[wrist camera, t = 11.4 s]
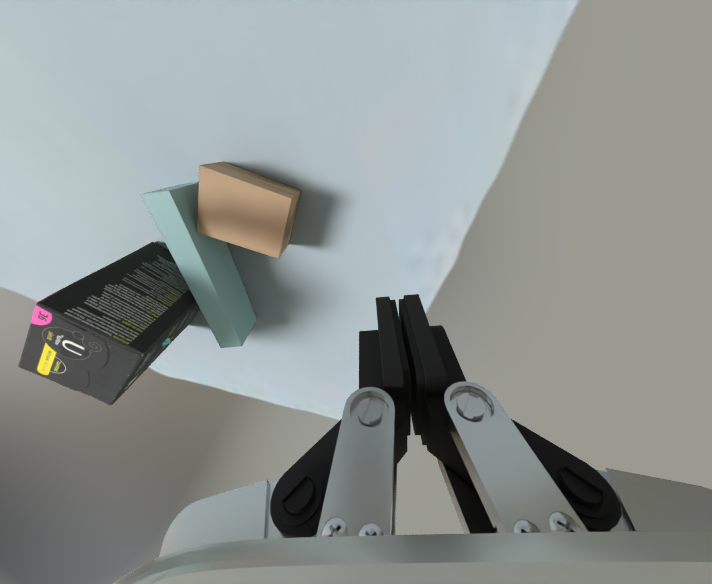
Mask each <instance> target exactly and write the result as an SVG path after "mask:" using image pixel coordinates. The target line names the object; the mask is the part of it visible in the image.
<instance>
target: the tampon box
mask: <svg viewBox="0 0 712 584" xmlns="http://www.w3.org/2000/svg"><path fill="white" fill-rule="evenodd" d="M198 310H199V306H198V304H197V302H196V300H195V298H194V296H193V294H192V292H191V291H190V289H189V287H188V285H187V283H186V281H185V279H184V277H183V275H182V273H181V272H180V270H179V268H178V266H177V264H176V262H175V260H174V258H173V256H172V254H171V253H170V252H168V251H166V250H165V249H163V248H162V247H160V246H159V245H157V244H156V243H154V242H151V243H149V244H148V245H146V246H144V247H142V248H140V249H139V250H137V251H135V252H133V253H131V254H129V255H127V256H125V257H123V258H121V259H120V260H118V261H116V262H114V263H112V264H110V265H108V266H106V267H104V268H102V269H100V270H98V271H96V272H94V273H92V274H90V275H88V276H86V277H84V278H82V279H80V280H78V281H76V282H74V283H73V284H71V285H69V286H67V287H65V288H63V289H61V290H59V291H57V292H55V293H53V294H51V295H50V296H48V297H46V298H44V299H43V300H41V301H39V302H37V303H36V306H35V310H34V314H33V317H32V321H31V325H30V328H29V331H28V335H27V338H26V342H25V345H24V349H23V352H22V355H21V359H20V362H19V365H18V366H19V367H20V368H22V369H25V370H27V371H30V372H32V373H35V374H37V375H40V376H42V377H45V378H47V379H50V380H52V381H54V382H57V383H59V384H61V385H63V386H65V387H68V388H70V389H73V390H75V391H79V392H81V393H84V394H86V395H88V396H91V397H93V398H95V399H98V400H100V401H102V402H104V403H106V404H108V405H112V404H113V403H114V402H115V401H116V400H117V399H118V398H119V397H120V396H121V395H122V394H123V393H124V392H125V391H126V390H127V389H128V388H129V387H130V386H131V385H132V384H133V383H134V381H135V380H136V379H137V378H138V377H139V376H140V375H141V374H142V373H143V372H144V371H145V370H146V369H147V368H148V367H149V366H150V365H151V363H152V362H153V361H154V360H155V359H156V358H157V357H158V356H159V355H160V354H161V353H162V352H163V351H164V350H165V349H166V348H167V347H168V346H169V344H170V343H171V342H172V341H173V340H174V339H175V338H176V337H177V336H178V335H179V334H180V333H181V332H182V331H183V330H184V329H185V328H186V327H187V326H188V325H189V323H190V322H191V320H192V319H193V317H194V316H195V314H196V313H197V311H198Z"/></svg>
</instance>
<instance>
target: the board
mask: <svg viewBox="0 0 712 584" xmlns="http://www.w3.org/2000/svg"><path fill="white" fill-rule="evenodd" d="M198 193H199V182H196V183H189V184H182V185H176V186H172V187H168V188H164V189H160V190H156V191H152V192H148V193H144V194H140V196H141V198H142V199H143V201H144V203H145V205H146V207H147V209H148V211H149V213H150V215H151V217H152V218H153V220H154V222H155V224H156V226H157V228H158V230H159V232H160V234H161V236H162V237H163V239H164V241H165V243H166V245H167V247H168V249H169V251H170V253H171V254H172V256H173V258H174V260H175V262H176V264H177V266H178V268H179V270H180V272H181V273H182V275H183V277H184V279H185V281H186V283H187V285H188V287H189V289H190V291H191V292H192V294H193V296H194V298H195V300H196V302H197V304H198V306H199V308H200V310H201V311H202V313H203V315H204V317H205V319H206V321H207V323H208V325H209V327H210V328H211V330H212V332H213V334H214V336H215V338H216V340H217V342H218V344H219V346H220V347H221V348H225V347H237V346H242V345H243V343H244V341H245V340H246V338H247V336H248V334H249V333H250V331H251V329H252V328H253V326H254V324H255V322H256V321H257V318H256V315H255V313H254V310H253V308H252V305H251V303H250V300H249V298H248V295H247V293H246V290H245V288H244V285H243V283H242V280H241V278H240V275H239V273H238V270H237V268H236V265H235V263H234V260H233V258H232V255H231V253H230V250H229V248H228V245H227V243H226V242H225V241H222V240H219V239H216V238H213V237H210V236H207V235H203V234H200V233H197V219H198Z"/></svg>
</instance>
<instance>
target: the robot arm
mask: <svg viewBox="0 0 712 584" xmlns="http://www.w3.org/2000/svg"><path fill="white" fill-rule="evenodd" d="M376 306H377V319H378V330H371V331H360V332H359V389H358V390H357V391H355V392H354V393H352V394H351V395H350V397H349V398H348V399H347V401H346V404H345V407H344V411H343V416H342V419H341V420H340V421H339V422H338V423H337V424H336V425H335V426H334V427H333V428H332V429H331V430H330V431H329V432H327V433H326V435H324V436H323V437H322V438H321V439H320V440H319V441H318V442H317V443H316V444H315V445H314V446H313V447H312V448H311V449H310V450H309V451H308V452H306V453H305V454H304V456H302V457H301V458H300V459H299V460H298V461H297V462H296V463H295V464H294V465H293V466H292V467H291V468H290V469H289V470H288V471H287V472H285V473H284V475H283V476H282V477H281V478H280V479H278V480H275V481H272V482H268V480H264V481H261V482H257V483H254V484H251V485H248V486H244V487H241V488H238V489H235V490H231V491H228V492H225V493H221V494H218V495H215V496H211V497H208V498H205V499H202V500H198V501H196V502H194V503H192V504H190V505H189V506H187V507H186V508H185V509H184V510H183V511H182V512H180V513H179V514H178V515H177V517H176V518H175V520H174V521H173V522H172V524H171V525H170V527H169V529H168V532H167V533H166V536H165V538H164V541H163V544H162V547H161V551H160V554H159V557H158V559H156V560H153V561H151V562H149V563H147V564H145V565H143V566H141V567H139V568H137V569H136V570H134V571H132V572H130V573H128V574H127V575H125V576H123V577H122V578H120V579H119V580H117V581H116V582H115V583H113V584H712V490H711V489H708V488H704V487H702V486H697V485H692V484H687V483H682V482H676V481H671V480H666V479H661V478H656V477H650V476H645V475H640V474H635V473H629V472H624V471H619V470H614V469H608V468H605V469H604V470H603V471H599V470H595V469H594V468H592V467H590V466H589V465H588V464H587V463H585V462H583V461H582V460H580V459H578V458H577V457H575V456H573V455H572V454H570V453H568V452H567V451H565V450H563V449H561V448H559V447H558V446H556V445H555V444H553V443H551V442H550V441H548V440H546V439H544V438H543V437H541V436H539V435H538V434H536V433H534V432H532V431H531V430H529V429H527V428H526V427H524V426H522V425H520V424H519V423H517V422H515V421H514V420H512V419H510V417H509V416H508V414H507V413H506V412H505V410H504V409H503V407H502V406H501V405H500V403H499V401H498V400H497V399H496V397H495V396H494V395H493V394H492V393H491V392H490V391H489V390H487V389H486V388H485V387H483V386H480V385H478V384H476V383H472V382H467V381H466V380H465V377H464V375H463V372H462V370H461V368H460V365H459V363H458V360H457V358H456V356H455V353H454V351H453V349H452V346H451V344H450V342H449V339H448V337H447V335H446V332H445V330H444V328H443V327H442V326H441V325H440V326H429V323H428V320H427V317H426V315H425V312H424V309H423V306H422V303H421V301H420V298H419V295H418V294H416V295H404V299H399V317H398V312H397V307H396V302H395V300H390V298H389V297H378V298H376ZM411 416H412V422H413V428H414V433H415V435H421V439H422V445H427V450H428V451H429V452H430V453H432V454H433V455H434V456H436V457H437V459H438V464H439V467H440V469H441V472H442V475H443V478H444V480H445V483H446V486H447V488H448V491H449V493H450V496H451V499H452V501H453V504H454V507H455V510H456V512H457V515H458V517H459V520H460V523H461V525H462V528H463V531H464V533H465V534H433V535H396V534H395V533H396V495H397V463H398V462H399V461H400V460H401V458H402V457H403V456H404V455H405V453H406V452H407V435H410V417H411Z"/></svg>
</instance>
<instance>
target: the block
mask: <svg viewBox="0 0 712 584" xmlns="http://www.w3.org/2000/svg"><path fill="white" fill-rule="evenodd" d="M300 194H301V190H298V189H296V188H293V187H290V186H287V185H285V184H282V183H279V182H277V181H274V180H271V179H268V178H266V177H263V176H260V175H258V174H255V173H252V172H249V171H247V170H244V169H241V168H239V167H236V166H233V165H230V164H228V163H225V162H217V163H211V164H205V165H200V167H199V193H198V219H197V233H200V234H203V235H207V236H210V237H213V238H216V239H219V240H222V241H225V242H228V243H231V244H234V245H238V246H241V247H244V248H247V249H250V250H253V251H256V252H259V253H262V254H265V255H269V256H272V257H275V258H278V259H279V257H280V256H281V254H282V253H283V252H284V250H285V249H286V247H287V246H288V244H289V241H290V237H291V232H292V228H293V224H294V219H295V215H296V211H297V207H298V202H299V198H300Z"/></svg>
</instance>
